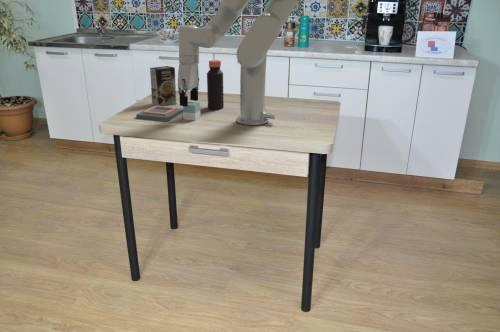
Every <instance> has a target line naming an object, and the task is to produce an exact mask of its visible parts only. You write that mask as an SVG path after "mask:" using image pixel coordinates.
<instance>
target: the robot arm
mask: <svg viewBox="0 0 500 332" xmlns="http://www.w3.org/2000/svg"><path fill="white" fill-rule="evenodd" d="M250 1H251V0H220V3H219V8H218V9H217V11H216V13H215V14H214V15H213V17H212V19H211V20H210V21H209V23H208V24H207V25H206V26H203V27H198V26H197V25H192V24H186V25H185V24H184V25H180V26H179V27H178V71H177V72H178V73H177V90H178V96H179V106H180V107H183V106H186V107H187V106H188V102H189V100H190V101H194V102H198V101H199V86H200V85H199V83H200V77H199V76H200V74H199V64H200V48H205V49H210V48H213V47H214V46H216V45H217V44H219V43H220V42H221V41H222V39H223V38H224V37H225V36H226V34H227V32H228V31H229V30H230V29H231V27H232V26H233V25H234V23H235V21H236V20H237V19H238V18H239V17H240V15H241V14H242V13H243V11H244V10H245V8H246V7H247V5H248V4H249V3H250ZM298 1H299V0H270V1H269V3H268V5H267V6H266V8H265V9H264V10H263V12H262V13H261V14H260V15H259V16H258V17H256V18H255V19H254V21H253V23H252V24H251V26H250V27H249V28H248V31H247V33H246V34H245V35H244V37H243V39H242V40H241V42H240V44H239V46H238V47H237V49H236V59H237V62H238V64H240V75H239V77H240V82H239V83H240V85H239V86H240V88H239V89H240V91H239V92H240V94H239V97H240V103H239V105H240V107H239V108H240V109H239V110H240V111H239V112H240V115H238V116H237V117H236V118H235V119H236V122H237V123H239V124H240V125H246V126H260V125H261V126H262V125H264V124H267V123H269V122H270V121H269V119H270V120H275V119H276V114H275V113H274V112H268V108H266V78H267V77H266V69H267V57H268V55H267V53H268V52H269V50H270V49H271V48H272V46H273V44H274V42H275V41H276V39H277V38H278V36H279V35H280V33H281V31H282V29H283V27H284V25H285V24H286V22H287V20H288V19H289V17H290V16H291V14H292V12H293V11H294V9H295V7H296V5H297V3H298ZM188 93H189V96H190V97H189V96H188Z"/></svg>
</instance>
